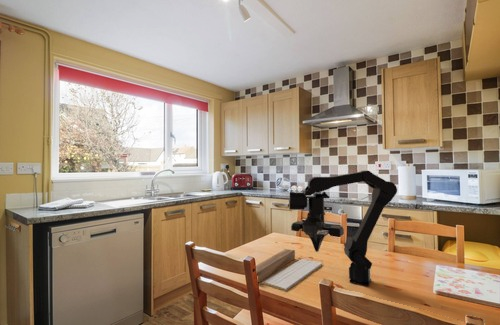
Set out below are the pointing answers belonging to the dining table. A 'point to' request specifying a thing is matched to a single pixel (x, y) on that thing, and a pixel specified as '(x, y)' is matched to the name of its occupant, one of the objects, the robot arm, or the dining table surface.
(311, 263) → the baseboard molding
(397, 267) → the dining table surface
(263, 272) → the walnut plank
